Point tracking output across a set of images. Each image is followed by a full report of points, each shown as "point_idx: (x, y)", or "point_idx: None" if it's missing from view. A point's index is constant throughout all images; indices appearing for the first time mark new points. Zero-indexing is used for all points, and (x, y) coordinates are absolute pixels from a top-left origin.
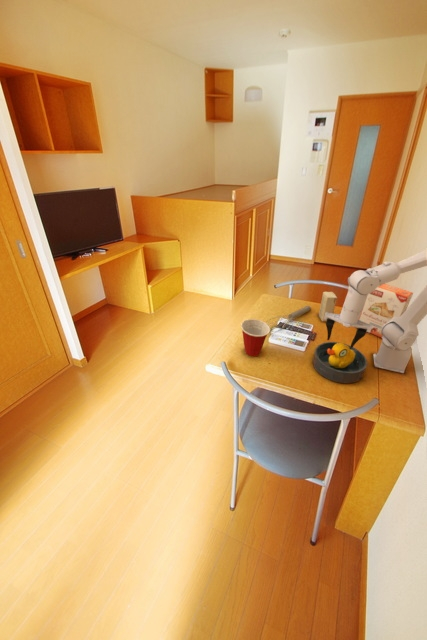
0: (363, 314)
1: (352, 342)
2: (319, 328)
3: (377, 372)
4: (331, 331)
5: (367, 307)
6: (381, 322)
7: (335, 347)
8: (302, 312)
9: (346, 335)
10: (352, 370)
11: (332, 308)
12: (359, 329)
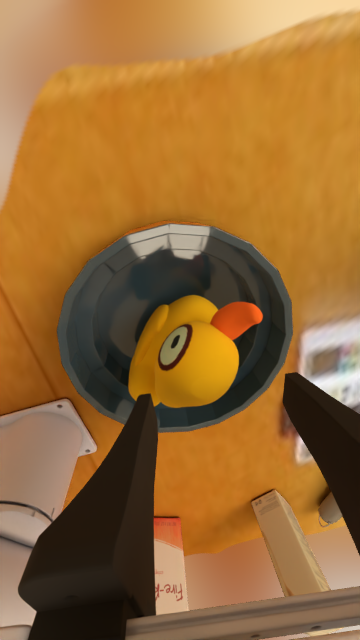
0: (179, 585)
1: (147, 426)
2: (275, 460)
3: (49, 378)
4: (322, 440)
5: None
6: None
7: (227, 350)
8: None
9: (195, 476)
10: (120, 333)
11: (278, 558)
12: (114, 614)
